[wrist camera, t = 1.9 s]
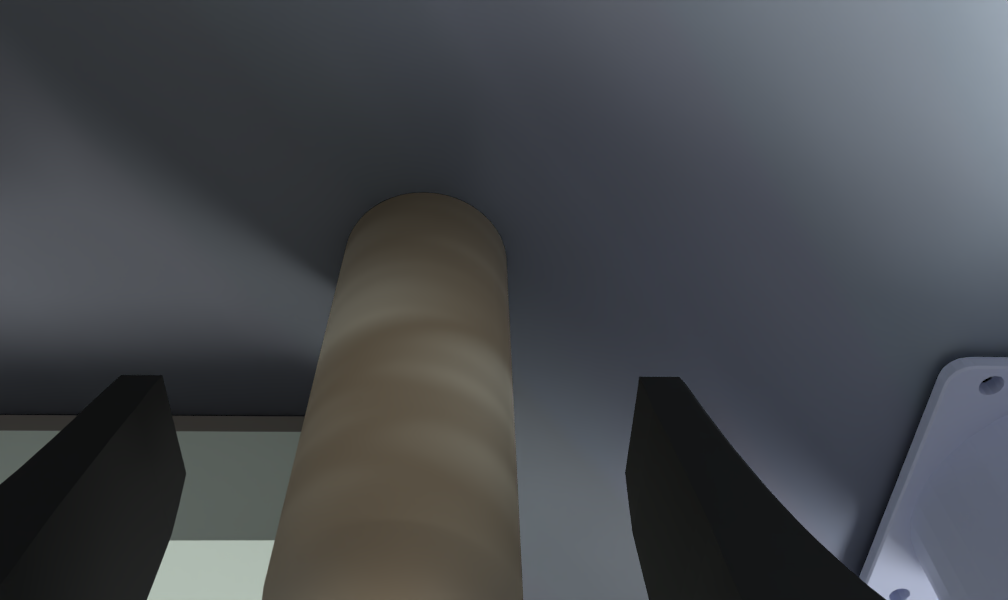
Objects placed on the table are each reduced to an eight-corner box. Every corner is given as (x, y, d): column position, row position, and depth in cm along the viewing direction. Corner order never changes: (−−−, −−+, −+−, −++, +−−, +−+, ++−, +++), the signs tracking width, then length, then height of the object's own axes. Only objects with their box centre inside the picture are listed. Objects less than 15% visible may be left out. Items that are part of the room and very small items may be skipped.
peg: (508, 193, 17) (528, 519, 10) (504, 330, 18) (518, 683, 12) (338, 191, 17) (244, 519, 10) (350, 329, 18) (278, 685, 12)
